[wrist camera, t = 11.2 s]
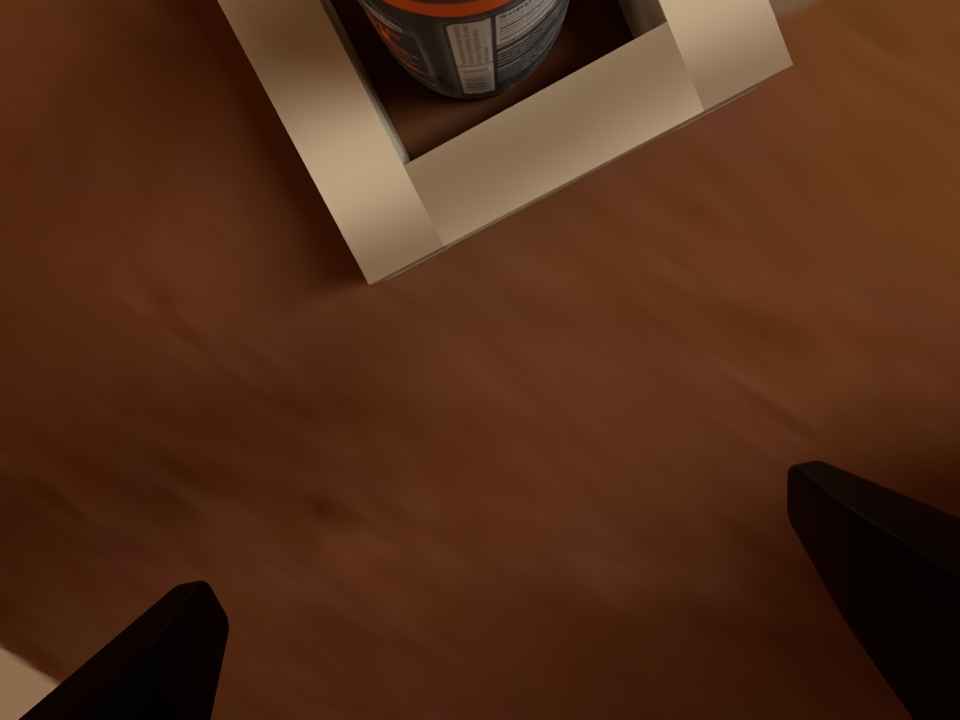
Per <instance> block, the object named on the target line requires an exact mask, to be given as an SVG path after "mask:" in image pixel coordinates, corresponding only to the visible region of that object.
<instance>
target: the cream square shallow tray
mask: <svg viewBox="0 0 960 720" xmlns="http://www.w3.org/2000/svg"><path fill="white" fill-rule="evenodd" d="M217 1H218V3H219V5H220V6H221V8H222V10H223V12H224V14H225V16H226V18H227V20H228V21H229V23H230V25H231V27H232V29H233V31H234V33H235V34H236V36H237V38H238V40H239V42H240V44H241V46H242V48H243V49H244V51H245V53H246V55H247V57H248V59H249V61H250V63H251V64H252V66H253V68H254V70H255V72H256V74H257V76H258V78H259V79H260V81H261V83H262V85H263V87H264V89H265V91H266V93H267V94H268V96H269V98H270V100H271V102H272V104H273V106H274V108H275V109H276V111H277V113H278V115H279V117H280V119H281V121H282V122H283V124H284V126H285V128H286V130H287V132H288V134H289V136H290V137H291V139H292V141H293V143H294V145H295V147H296V149H297V151H298V152H299V154H300V156H301V158H302V160H303V162H304V164H305V166H306V167H307V169H308V171H309V173H310V175H311V177H312V179H313V181H314V182H315V184H316V186H317V188H318V190H319V192H320V194H321V196H322V197H323V199H324V201H325V203H326V205H327V207H328V209H329V211H330V212H331V214H332V216H333V218H334V220H335V222H336V224H337V225H338V227H339V229H340V231H341V233H342V235H343V237H344V239H345V240H346V242H347V244H348V246H349V248H350V250H351V252H352V254H353V255H354V257H355V259H356V261H357V263H358V265H359V267H360V269H361V270H362V272H363V274H364V276H365V278H366V280H367V282H368V284H369V285H371V284H374V283H377V282H381V281H384V280H388V279H390V278H392V277H394V276H396V275H398V274H400V273H402V272H404V271H406V270H408V269H410V268H412V267H414V266H416V265H417V264H419V263H421V262H423V261H425V260H427V259H429V258H431V257H433V256H435V255H437V254H439V253H441V252H442V251H444V250H446V249H448V248H450V247H452V246H454V245H456V244H458V243H460V242H462V241H464V240H466V239H468V238H469V237H471V236H473V235H475V234H477V233H479V232H481V231H483V230H485V229H487V228H489V227H491V226H493V225H495V224H496V223H498V222H500V221H502V220H504V219H506V218H508V217H510V216H512V215H514V214H516V213H518V212H520V211H522V210H523V209H525V208H527V207H529V206H531V205H533V204H535V203H537V202H539V201H541V200H543V199H545V198H547V197H549V196H550V195H552V194H554V193H556V192H558V191H560V190H562V189H564V188H566V187H568V186H570V185H572V184H574V183H576V182H577V181H579V180H581V179H583V178H585V177H587V176H589V175H591V174H593V173H595V172H597V171H599V170H601V169H603V168H604V167H606V166H608V165H610V164H612V163H614V162H616V161H618V160H620V159H622V158H624V157H626V156H628V155H630V154H631V153H633V152H635V151H637V150H639V149H641V148H643V147H645V146H647V145H649V144H651V143H653V142H655V141H656V140H658V139H660V138H662V137H664V136H666V135H668V134H670V133H672V132H674V131H676V130H678V129H680V128H682V127H683V126H685V125H687V124H689V123H691V122H693V121H695V120H697V119H699V118H701V117H703V116H705V115H707V114H709V113H710V112H712V111H714V110H716V109H718V108H720V107H722V106H724V105H726V104H728V103H730V102H732V101H734V100H736V99H737V98H739V97H741V96H743V95H745V94H747V93H749V92H750V91H752V90H753V89H755V88H757V87H758V86H760V85H761V84H763V83H765V82H766V81H768V80H769V79H771V78H773V77H774V76H776V75H777V74H779V73H780V72H782V71H784V70H785V69H787V68H788V67H790V66H792V65H793V64H792V61H791V58H790V56H789V53H788V50H787V48H786V45H785V42H784V40H783V37H782V35H781V32H780V29H779V27H778V24H777V21H776V19H775V16H774V13H773V11H772V8H771V6H770V3H769V1H768V0H618V3H619V5H620V7H621V10H622V12H623V15H624V17H625V19H626V22H627V24H628V26H629V29H630V31H631V34H632V36H633V38H634V40H632V41H631V42H629V43H627V44H625V45H623V46H621V47H620V48H618V49H616V50H614V51H612V52H610V53H609V54H607V55H605V56H603V57H601V58H599V59H598V60H596V61H594V62H592V63H590V64H589V65H587V66H585V67H583V68H581V69H579V70H578V71H576V72H574V73H572V74H570V75H568V76H567V77H565V78H563V79H561V80H559V81H557V82H556V83H554V84H552V85H550V86H548V87H546V88H545V89H543V90H541V91H539V92H537V93H535V94H534V95H532V96H530V97H528V98H526V99H524V100H523V101H521V102H519V103H517V104H515V105H514V106H512V107H510V108H508V109H506V110H504V111H503V112H501V113H499V114H497V115H495V116H493V117H492V118H490V119H488V120H486V121H484V122H482V123H481V124H479V125H477V126H475V127H473V128H471V129H470V130H468V131H466V132H464V133H462V134H460V135H459V136H457V137H455V138H453V139H451V140H450V141H448V142H446V143H444V144H442V145H440V146H439V147H437V148H435V149H433V150H431V151H429V152H428V153H426V154H424V155H422V156H420V157H418V158H417V159H415V160H413V161H411V160H410V158H409V156H408V154H407V152H406V150H405V148H404V146H403V144H402V142H401V140H400V138H399V136H398V134H397V132H396V130H395V128H394V126H393V124H392V122H391V120H390V118H389V116H388V114H387V112H386V110H385V108H384V106H383V104H382V102H381V100H380V98H379V96H378V94H377V92H376V90H375V88H374V86H373V84H372V82H371V80H370V78H369V76H368V74H367V72H366V70H365V68H364V66H363V64H362V62H361V60H360V58H359V56H358V54H357V52H356V50H355V48H354V46H353V44H352V43H351V41H350V39H349V37H348V35H347V33H346V31H345V29H344V27H343V25H342V23H341V21H340V19H339V17H338V15H337V13H336V11H335V9H334V7H333V5H332V3H331V1H330V0H217Z"/></svg>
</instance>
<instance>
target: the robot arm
mask: <svg viewBox="0 0 960 720" xmlns="http://www.w3.org/2000/svg"><path fill="white" fill-rule="evenodd" d="M787 511H788V516H789V520H790V522H791V525H792V527H793V528H794V530H795V532H796V534H797V536H798V537H799V539H800V541H801V543H802V545H803V547H804V548H805V550H806V552H807V554H808V556H809V557H810V559H811V561H812V563H813V565H814V566H815V568H816V570H817V572H818V574H819V575H820V577H821V579H822V581H823V583H824V584H825V586H826V588H827V590H828V592H829V593H830V595H831V597H832V599H833V601H834V603H835V604H836V606H837V608H838V609H839V611H840V613H841V615H842V616H843V618H844V620H845V621H846V623H847V624H848V626H849V627H850V629H851V630H852V632H853V633H854V635H855V636H856V638H857V639H858V641H859V642H860V644H861V645H862V646H863V648H864V649H865V651H866V652H867V654H868V655H869V656H870V658H871V659H872V661H873V662H874V664H875V665H876V666H877V668H878V669H879V671H880V672H881V674H882V675H883V677H884V678H885V679H886V681H887V682H888V684H889V685H890V687H891V688H892V689H893V691H894V692H895V694H896V695H897V697H898V698H899V699H900V701H901V702H902V704H903V705H904V707H905V708H906V709H907V711H908V712H909V714H910V715H911V717H912V718H913V720H960V518H959V517H957V516H954V515H952V514H949V513H947V512H945V511H942V510H940V509H937V508H935V507H932V506H930V505H927V504H925V503H923V502H920V501H918V500H915V499H913V498H910V497H908V496H905V495H903V494H901V493H898V492H896V491H893V490H891V489H888V488H886V487H883V486H881V485H879V484H876V483H874V482H871V481H869V480H866V479H864V478H861V477H859V476H857V475H854V474H852V473H849V472H847V471H844V470H842V469H839V468H837V467H835V466H832V465H830V464H827V463H825V462H822V461H811V462H806V463H800V464H795V465H793V466H791V467H790V468H789V470H788V479H787ZM228 631H229V624H228V618H227V615H226V613H225V612H224V610H223V608H222V606H221V604H220V603H219V601H218V599H217V597H216V595H215V594H214V592H213V590H212V588H211V586H210V585H209V584H208V583H207V582H205V581H194V582H189V583H184V584H180V585H178V586H176V587H174V588H173V589H172V590H171V591H170V592H168V593H167V594H166V595H165V596H164V597H162V598H161V599H160V600H159V601H158V602H157V603H155V604H154V605H153V606H152V607H151V608H149V609H148V610H147V611H146V612H145V613H144V614H142V615H141V616H140V617H139V618H138V619H137V620H135V621H134V622H133V623H132V624H131V625H129V626H128V627H127V628H126V629H125V630H124V631H122V632H121V633H120V634H119V635H118V636H117V637H115V638H114V639H113V640H112V641H111V642H109V643H108V644H107V645H106V646H105V647H104V648H102V649H101V650H100V651H99V652H98V653H97V654H95V655H94V656H93V657H92V658H91V659H89V660H88V661H87V662H86V663H85V664H84V665H82V666H81V667H80V668H79V669H78V670H77V671H75V672H74V673H73V674H72V675H71V676H69V677H68V678H67V679H66V680H65V681H64V682H62V683H61V684H60V685H59V686H58V687H57V688H55V689H54V690H53V691H52V692H51V693H49V694H48V695H47V696H46V697H45V698H44V699H42V700H41V701H40V702H39V703H38V704H36V705H35V706H34V707H33V708H32V709H31V710H29V711H28V712H27V713H26V714H25V715H24V716H23V717H21V718H20V719H19V720H210V719H211V715H212V710H213V705H214V700H215V695H216V691H217V686H218V681H219V676H220V671H221V666H222V661H223V657H224V652H225V647H226V642H227V637H228Z"/></svg>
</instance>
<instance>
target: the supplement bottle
mask: <svg viewBox="0 0 960 720" xmlns="http://www.w3.org/2000/svg"><path fill="white" fill-rule="evenodd" d="M358 2H359V3H360V4H361V6H362V7H363V9H364V11H365V13H366V15H367V17H368V18H369V20H370V21H371V23H372V24H373V26H374V28H375V29H376V31H377V32H378V34H379V36H380V38H381V40H382V42H383V43H384V44H385V46H386V47H387V49H388V51H389V52H390V53H391V55H392V56H393V58H394V59H395V60H396V61H397V62H398V63H399V64H400V65H401V66H402V67H403V68H404V69H405V70H406V71H407V72H408V73H409V74H410V75H411V76H412V77H413V78H415V79H416V80H417V81H418V82H420V83H421V84H423V85H424V86H426V87H427V88H429V89H432V90H434V91H436V92H438V93H441V94H442V95H445V96H449V97H454V98H459V99H476V98H485V97H489V96H494V95H498V94H500V93H503V92H505V91H507V90H510V89H512V88H513V87H515V86H517V85H518V84H520V83H521V82H522V81H524V80H525V79H526V78H528V77H529V76H530V75H531V74H532V73H533V72H534V71H535V70H536V69H537V68H538V67H539V66H540V65H541V63H542V62H543V61H544V59H545V58H546V56H547V55H548V53H549V52H550V50H551V48H552V46H553V44H554V42H555V40H556V38H557V36H558V34H559V31H560V29H561V27H562V24H563V21H564V18H565V15H566V11H567V8H568V4H569V0H358Z"/></svg>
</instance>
